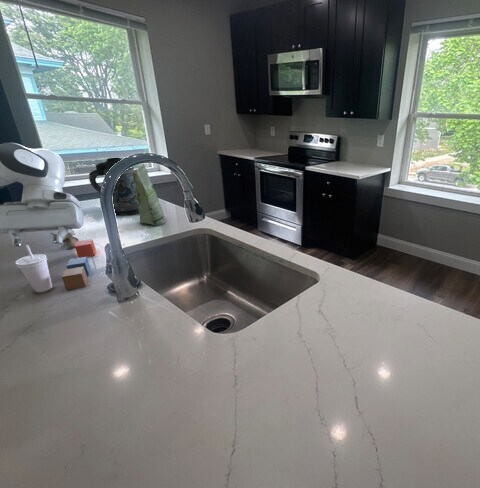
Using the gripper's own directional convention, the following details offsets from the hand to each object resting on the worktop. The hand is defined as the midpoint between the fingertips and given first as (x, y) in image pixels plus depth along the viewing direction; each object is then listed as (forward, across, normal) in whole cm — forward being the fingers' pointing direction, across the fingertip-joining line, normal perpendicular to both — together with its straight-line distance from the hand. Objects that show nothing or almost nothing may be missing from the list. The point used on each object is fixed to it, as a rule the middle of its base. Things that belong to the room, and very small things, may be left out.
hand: (37, 244), depth 85 cm
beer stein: (-36, +4, +53) cm, 64 cm away
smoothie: (+12, 0, +5) cm, 13 cm away
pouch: (-23, +19, +40) cm, 50 cm away
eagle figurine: (-10, -6, +27) cm, 29 cm away
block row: (+4, +6, +13) cm, 15 cm away
